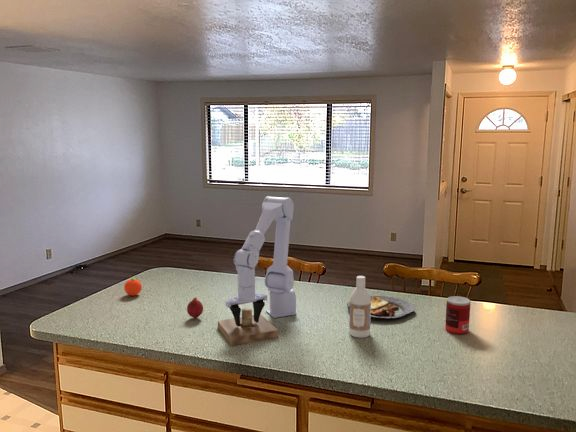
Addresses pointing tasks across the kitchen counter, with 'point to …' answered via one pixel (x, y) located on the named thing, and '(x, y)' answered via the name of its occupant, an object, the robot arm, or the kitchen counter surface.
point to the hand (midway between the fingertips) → (247, 323)
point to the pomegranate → (195, 308)
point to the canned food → (457, 315)
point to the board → (247, 331)
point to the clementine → (132, 287)
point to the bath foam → (360, 310)
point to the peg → (246, 318)
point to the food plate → (388, 307)
